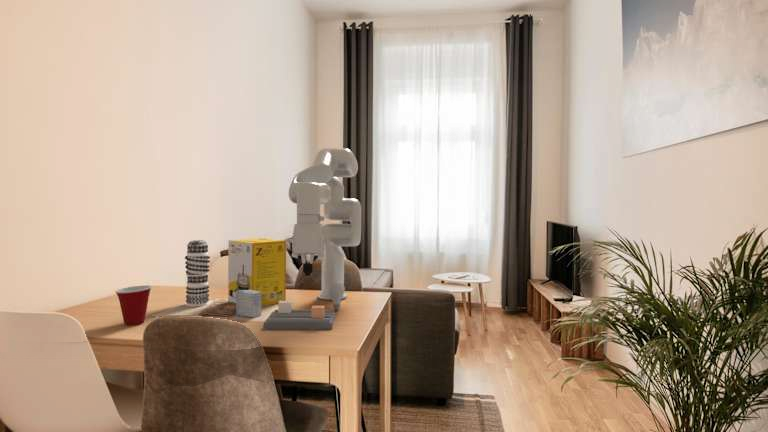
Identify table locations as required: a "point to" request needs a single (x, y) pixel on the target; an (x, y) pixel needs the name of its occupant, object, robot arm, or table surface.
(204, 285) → the decorative candle
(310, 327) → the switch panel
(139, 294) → the plastic cup
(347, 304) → the table surface
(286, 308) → the off-white block
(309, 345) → the table surface
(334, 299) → the lightbulb
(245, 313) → the medicine box
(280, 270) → the packaging box
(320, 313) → the orange cube
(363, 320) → the table surface
